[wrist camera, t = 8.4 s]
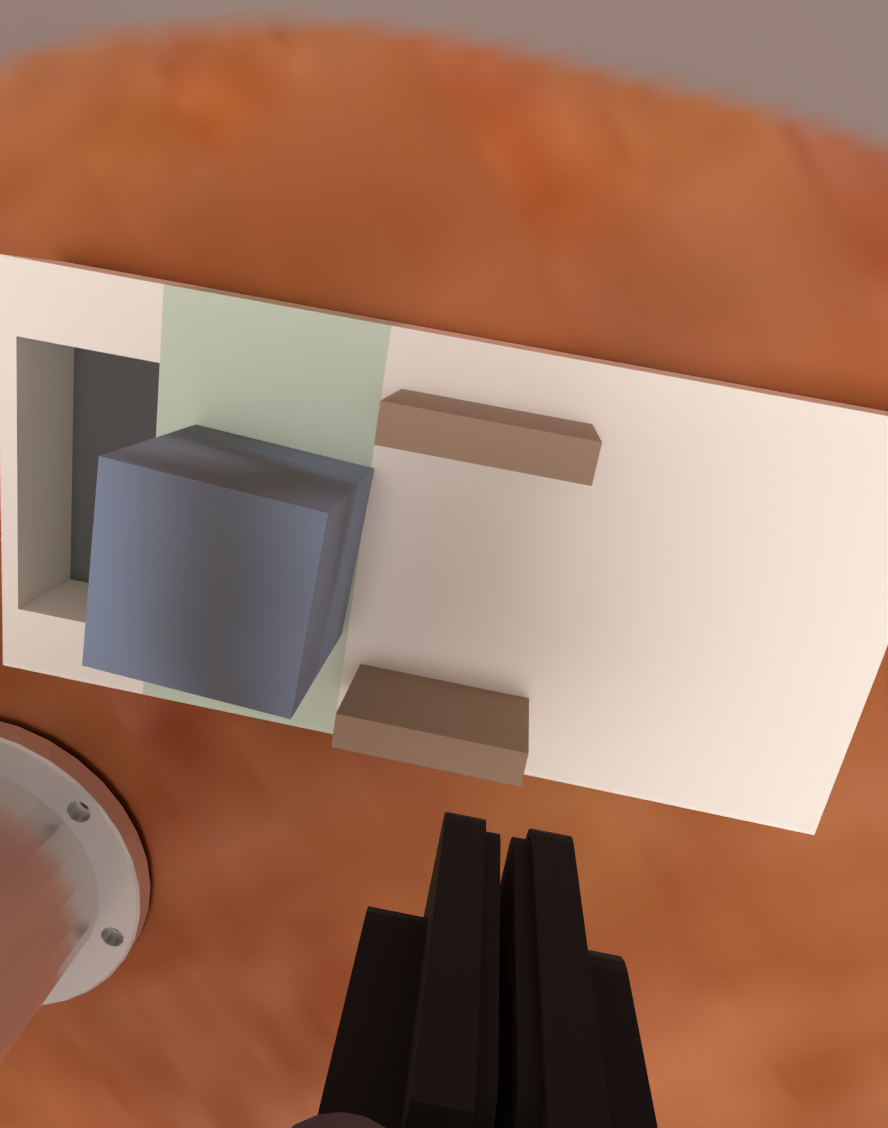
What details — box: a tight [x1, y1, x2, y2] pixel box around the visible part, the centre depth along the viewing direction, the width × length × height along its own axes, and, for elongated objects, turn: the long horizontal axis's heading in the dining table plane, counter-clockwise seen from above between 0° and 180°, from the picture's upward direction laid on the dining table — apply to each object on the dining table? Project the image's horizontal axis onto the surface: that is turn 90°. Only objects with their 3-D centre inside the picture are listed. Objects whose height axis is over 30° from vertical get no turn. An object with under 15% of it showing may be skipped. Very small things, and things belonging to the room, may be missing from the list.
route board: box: [0, 254, 888, 835], centre depth 22 cm, size 25×12×6 cm, turn 80°
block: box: [82, 424, 375, 719], centre depth 19 cm, size 5×5×5 cm
